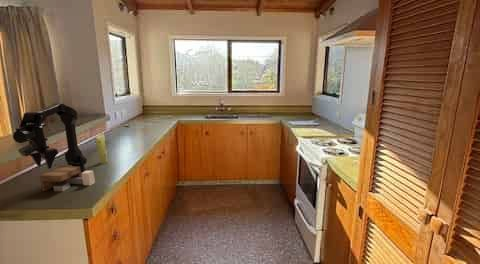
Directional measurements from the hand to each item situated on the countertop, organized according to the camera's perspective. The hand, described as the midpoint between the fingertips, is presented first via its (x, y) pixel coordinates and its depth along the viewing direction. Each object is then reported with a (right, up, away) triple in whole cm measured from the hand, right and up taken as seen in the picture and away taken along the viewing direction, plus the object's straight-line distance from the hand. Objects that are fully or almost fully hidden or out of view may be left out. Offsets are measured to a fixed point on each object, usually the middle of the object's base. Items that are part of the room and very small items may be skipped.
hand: (44, 167), depth 133 cm
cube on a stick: (+10, -11, +13) cm, 20 cm away
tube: (+6, -3, +47) cm, 47 cm away
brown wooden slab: (+2, -12, +11) cm, 16 cm away
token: (+5, -13, +7) cm, 15 cm away
